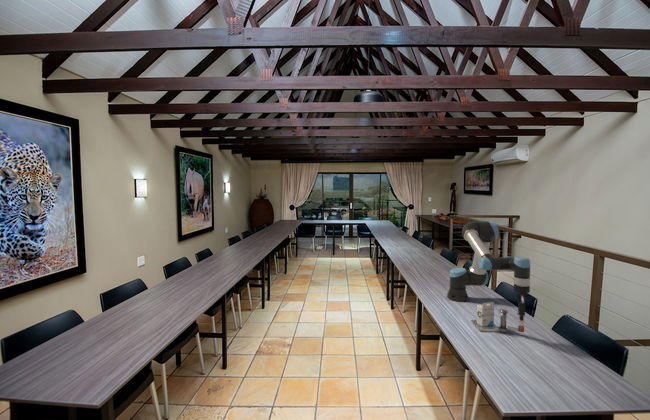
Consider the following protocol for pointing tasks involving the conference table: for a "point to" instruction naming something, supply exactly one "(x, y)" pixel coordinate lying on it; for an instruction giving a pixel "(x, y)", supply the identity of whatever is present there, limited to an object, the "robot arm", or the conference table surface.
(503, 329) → the press
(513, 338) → the conference table surface
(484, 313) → the ink box
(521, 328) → the lever
